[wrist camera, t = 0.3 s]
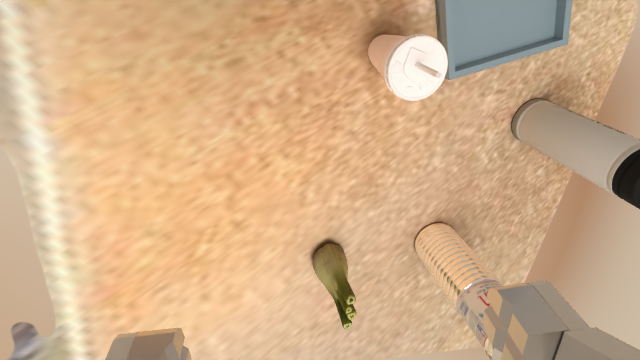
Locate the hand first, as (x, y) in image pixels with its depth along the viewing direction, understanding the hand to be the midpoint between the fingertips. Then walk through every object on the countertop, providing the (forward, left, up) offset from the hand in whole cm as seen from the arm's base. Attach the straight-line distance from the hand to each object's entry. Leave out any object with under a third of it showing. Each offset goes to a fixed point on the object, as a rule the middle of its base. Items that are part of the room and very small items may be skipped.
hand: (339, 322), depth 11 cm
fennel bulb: (+31, +2, -39) cm, 50 cm away
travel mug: (+20, +36, -39) cm, 56 cm away
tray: (+1, +30, -38) cm, 49 cm away
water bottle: (+35, +19, -39) cm, 56 cm away
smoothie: (+4, +15, -39) cm, 42 cm away
